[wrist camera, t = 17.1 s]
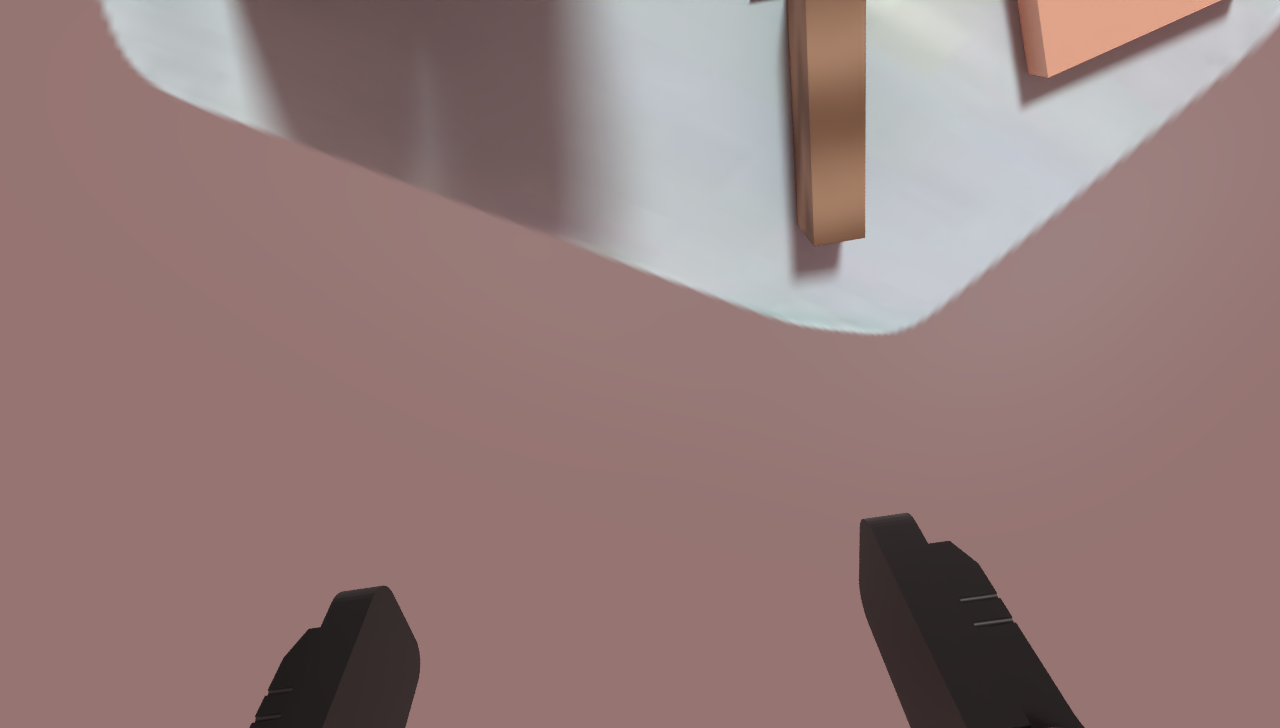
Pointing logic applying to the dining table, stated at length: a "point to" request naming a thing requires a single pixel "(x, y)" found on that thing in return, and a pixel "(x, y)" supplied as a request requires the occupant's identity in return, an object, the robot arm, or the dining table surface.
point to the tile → (1090, 27)
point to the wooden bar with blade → (829, 116)
